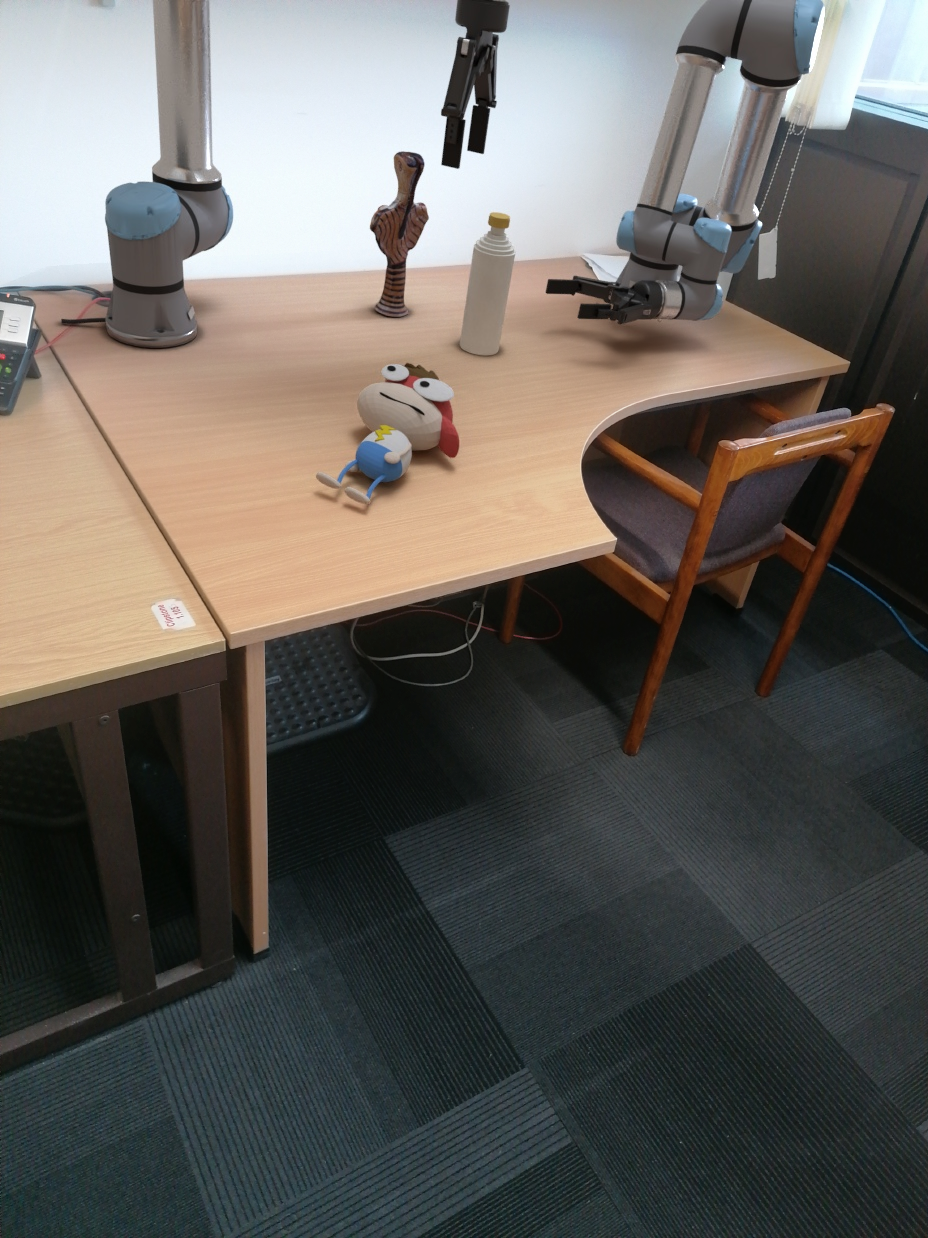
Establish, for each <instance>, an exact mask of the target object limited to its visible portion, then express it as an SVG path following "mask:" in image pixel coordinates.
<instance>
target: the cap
mask: <svg viewBox="0 0 928 1238" xmlns="http://www.w3.org/2000/svg"><path fill="white" fill-rule="evenodd" d="M510 222H511V216H510V215H509V214H506V213H503V212H498V211H497V212H494V211H493V212H490V213H489V215H488V220H487V225H489V226H490V227H491V226H492V227H495V228H500V229H505V230H506V229H508V228H510Z"/></svg>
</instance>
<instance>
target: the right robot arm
mask: <svg viewBox="0 0 928 1238" xmlns="http://www.w3.org/2000/svg"><path fill="white" fill-rule="evenodd" d="M824 18H825V4H824V2H823V0H706V1H705V2H704V3H703V4H702V5H701V6H700V7H699V9H697V11H696V12H695V13H694V15H693V16H692V18H691V19H690V20H689V23H688V24H687V25H686V27H685V29H684V30H683V33H682V35H681V37H680V39H679V41H678V46H677V48H676V52H675V56H674V61H675V63H676V65H677V68H676V71H675V74H674V78H673V81H672V84H671V87H670V91H669V94H668V97H667V100H666V103H665V108H664V111H663V115H662V118H661V121H660V125H659V127H658V131H657V134H656V139H655V141H654V146H653V148H652V152H651V155H650V159H649V162H648V165H647V169H646V172H645V174H644V175H645V176H644V179H643V182H642V186H641V189H640V192H639V196H638V200H637V203H636V207H635V209H634V210H626V211H625V212H624V213H623V215H622V217H621V220H620V222H619V225H618V228H617V232H616V239H615V242H616V246H617V247H618V248H619V250H622V251H625V252H628V253H629V257H628V260H627V262H626V263H625V265H624V267H623V268H622V270H621V272H620V274H619V276H618V277H617V279H616V280H615V281H607V280H602V279H596V278H591V277H585V276H578V275H573V276H572V279H566V278H565V279H564V278H562V279H561V278H560V279H558V278H548V279H547V282H546V287H545V294H546V295H571V296H575V295H576V294H580V295H584V296H588V297H592V298H596V299H599V300H603V303H582V302H581V303H580V305H579V308H578V312H577V319H578V320H610V321H612V322H616V324H618V325H625V324H628V323H632V322H635V321H638V320H639V321H640V320H641V321H643V320H649V321H650V320H656V321H657V322H659V323H660V322H662V321H663V320H668V321H669V320H671V321H672V320H677V321H678V320H679V321H680V320H681V321H695V322H696V321H697V322H698V321H705V320H711V319H713V318H715V317H716V316H717V315H718V314H719V313H720V312H721V309H722V307H723V304H724V301H723V296H724V291H723V289H722V287H721V286H720V284H718V282H717V281H718V278H719V276H720V273H722V272H724V273H729V274H738V273H740V272H741V271H742V270H743V268H744V266H745V265H746V262H747V260H748V258H749V256H750V253H751V251H752V249H753V247H754V244H755V242H756V240H757V239H758V236H759V234H760V231H761V229H762V227H763V222H762V221H760V220H759V219H758V217H759V210H758V207H757V206H756V205H755V203H756V201H757V200H756V199H757V196H758V193H759V190H760V186H761V183H762V180H763V176H764V173H765V169H766V168H767V167H766V166H767V164H768V160H769V158H770V157H769V156H770V154H771V150H772V147H773V143H774V141H775V136H776V133H777V131H778V127H779V123H780V121H781V118H782V114H783V110H784V107H785V104H786V100H787V98H788V95H789V90H791V89H792V88H794V87H795V86H797V85H799V83H800V82H801V79H802V76H803V75H807V74H809V73H811V71H812V70H813V67H814V65H815V60H816V57H817V52H818V48H819V45H820V41H821V36H822V30H823V26H824ZM728 58H730V59H732V60H733V59H734V60H738V61H741V63H740V68H739V75H740V76H741V78H742V80H743V82H744V83H743V88H742V91H741V95H740V99H739V103H738V106H737V110H736V112H735V113H736V114H735V116H734V117H735V118H734V120H733V121H734V122H733V125H732V128H731V131H730V132H731V133H730V136H729V140H728V144H727V147H726V152H725V155H724V158H723V162H722V166H721V171H720V174H719V178H718V181H717V186H716V189H715V192H714V196H713V197H711V198H709V199H707V201H706V202H705V203H704V206H703V207H702V206H700V205H698V204H699V203H698V198H697V197H696V196H694V195H690V194H686V193H681V189H682V187H683V183H684V179H685V177H686V173H687V170H688V166H689V164H690V160H691V158H692V154H693V150H694V149H695V148H694V147H695V144H696V141H697V138H698V135H699V131H700V128H701V125H702V122H703V119H704V115H705V113H706V109H707V105H708V103H709V100H710V96H711V93H712V89H713V87H714V84H715V81H716V77H717V76H718V75H719V74H720V73H721V72H723V71H724V70H725V66H726V63H727V61H728ZM679 266H681V267H682V268H681V271H680V273H679V274H680V276H679V279H678V270H679Z"/></svg>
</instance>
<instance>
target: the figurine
mask: <svg viewBox="0 0 928 1238" xmlns="http://www.w3.org/2000/svg"><path fill="white" fill-rule="evenodd" d="M425 164H426V163H425V160H424V157H423V156H422V155H421V154H420V153H417V152H411V151H405V150H403V151H402V150H401V151H397V152H396V153H395V154H394V155H393V169H394V173H395V175H396V179H397V193H396V197H395V198H394V200H393V201H392V202H391V203H390V204H389V205H387V204H382V205H380V206H378V207H377V210H376V211H374V213H373V214H372V217H371V220H370V224H369V230H370V231H371V232H372V233H373V234H374V237H375V238H374V239H375V241H376V244H377V247H378V249H379V250H380V252H381V253H382V254H383V255H384V256H385V257H386V269H385V277H384V283H383V289H382V291H381V296H380V298H379V300H378V302H377V303H376V304H375V305H374V310H375V311H376V312H377V313H380V314H382V315H384V316H388V317H394V318H396V317H397V318H401V317H405V316H406V315H408V314H409V310H408V308H407V307H406V304H405V290H406V289H405V288H406V279H407V259H408V255H409V251H410V250H411V251H412V250H413V249H414V248H415V247H416V246H417V244H418V242H419V240H420V238H421V236H422V234H423V231H424V229H425V226H426V224H427V223H428V221H429V219H430V217H429V213H428V208H427V206H426V203H424V202H414V201H415V195H416V189H417V186H418V183H419V181H420V179H421V177H422V174H423V172H424V169H425Z"/></svg>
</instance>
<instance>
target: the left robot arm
mask: <svg viewBox="0 0 928 1238" xmlns="http://www.w3.org/2000/svg"><path fill="white" fill-rule="evenodd" d="M510 6H511V5H510V2H508V1H507V0H456V9H455V19H454V21H455V24H456V25H457V26H460V27H463V28H465V29H466V33H465V37H463V36H458V37H457V40H456V49H455V54H454V60H453V64H452V68H451V72H450V75H449V81H448V85H447V89H446V94H445V97H444V102H443V106H442V108H441V110H440V115H441V117H445V118H446V121H445V129H444V137H443V145H442V146H443V147H442V155H441V163H440V165H441V166H443V167H448V168H452V169H458V170H459V169H461V168H460V167H461V161H462V152H463V144H464V137H465V128H466V121H467V120H466V119H464V118H465V116H466V115H465V114H466V112H467V108H468V106H469V105H468V104H469V102H470V99H471V95H472V92H473V89H474V102H475V104H473V105H472V111H471V117H470V125H469V133H468V138H467V139H468V140H467V146H466V147H467V149H466V151H467V152H471V153H476V154H480V155H484V154H485V150H486V149H485V148H486V142H487V137H488V136H487V135H488V128H489V122H490V114H491V108H492V109H496V107H497V103H498V101H497V100H496V99H497V68H498V67H497V66H498V48H499V42H500V37H499V36H500V35H499V34H502V33H505V32H506V30H507V28H508V21H509V14H510ZM152 9H153V10H152V11H153V12H152V13H153V33H154V35H153V36H154V53H155V72H156V73H155V74H156V75H155V76H156V89H157V92H156V94H157V111H158V112H157V113H158V130H159V152H160V153H159V155H160V156H159V160H157V161H156V162H155V163H154V164H153V165H152V167H151V174H152V175H151V176H152V178H151V179H152V181H137V182H135V183H134V182H126V183H123V184H120V185H117V186H115V187H114V188H112V189H111V190H110V191H109V192H108V194H107V195H106V197H105V201H104V202H105V205H104V206H105V214H104V222H105V226H106V229H107V230H106V233H107V241H108V250H109V259H110V268H111V277H112V291H111V295H110V300H109V303H108V307H107V311H106V315H105V317H89V318H76V319H75V318H73V319H72V318H71V319H67V318H61V320H60V322H61V324H66V325H67V324H68V325H78V324H91V323H93V324H94V323H95V324H96V323H105V326H106V328H105V329H106V332H107V334H108V335H109V336H110V337H111V338H112V339H114V340H116V341H117V342H120V343H123V344H126V345H130V346H133V347H140V348H152V349H157V348H160V349H163V348H171V347H177V346H182V345H184V344H187V343H189V342H191V341H193V340H194V339H195V338H196V337H197V335H198V324H197V322H198V321H197V318H196V317H195V314H196V311H195V309H194V306H193V305H192V306H191V304H190V300H189V298H188V296H187V293H186V290H185V278H184V261H185V260H188V259H189V258H192V257H194V256H196V255H198V254H200V253H202V252H207V251H209V250H211V249H214V248H215V247H216V246H218V245H219V243H221V242H222V241H223V240H225V238H226V237H227V236H228V235H229V233H230V231H231V229H232V226H233V221H234V206H233V202H232V200H231V197H230V195H229V194H228V193H227V192H226V188H225V187H224V186H223V176H222V173H221V171H219V170H218V168H217V167H216V166H215V165H214V162H213V161H214V159H213V110H212V53H211V51H212V49H211V48H212V47H211V0H152Z"/></svg>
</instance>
